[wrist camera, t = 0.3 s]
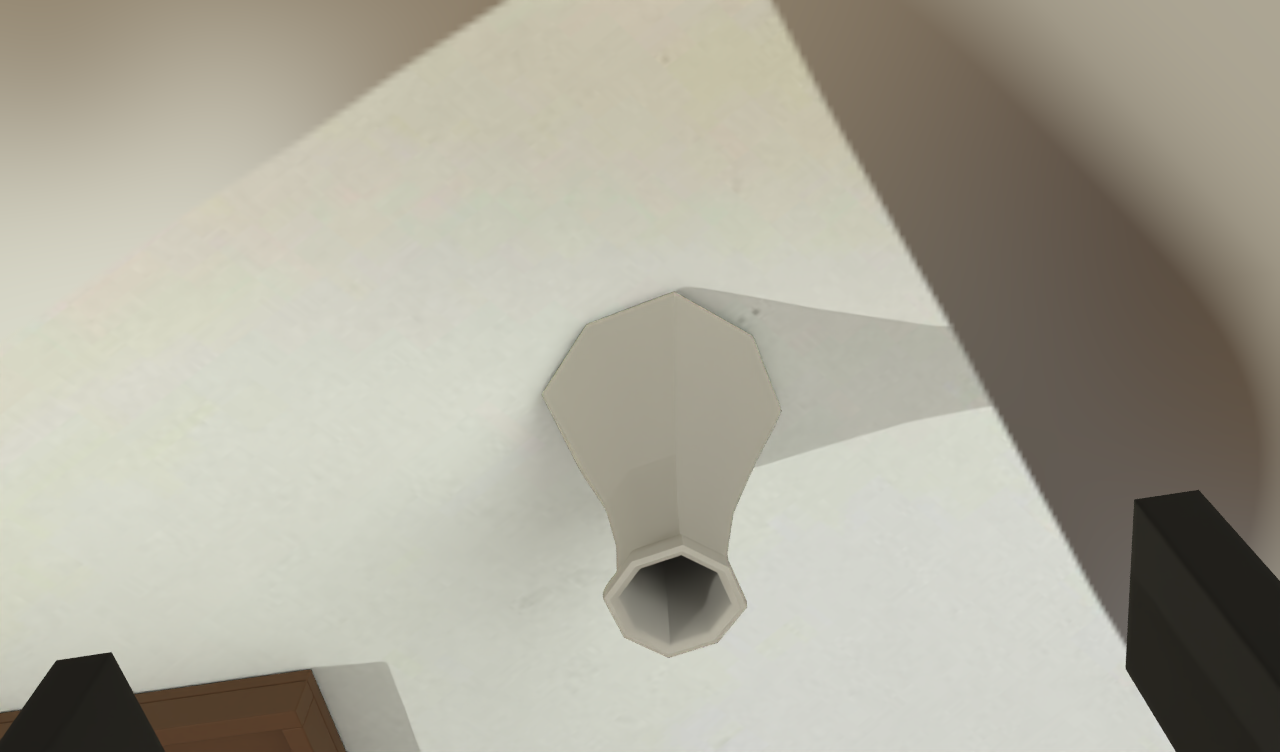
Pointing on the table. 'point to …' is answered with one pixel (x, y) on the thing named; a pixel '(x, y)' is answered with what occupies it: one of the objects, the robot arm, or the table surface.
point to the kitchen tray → (239, 716)
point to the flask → (667, 459)
